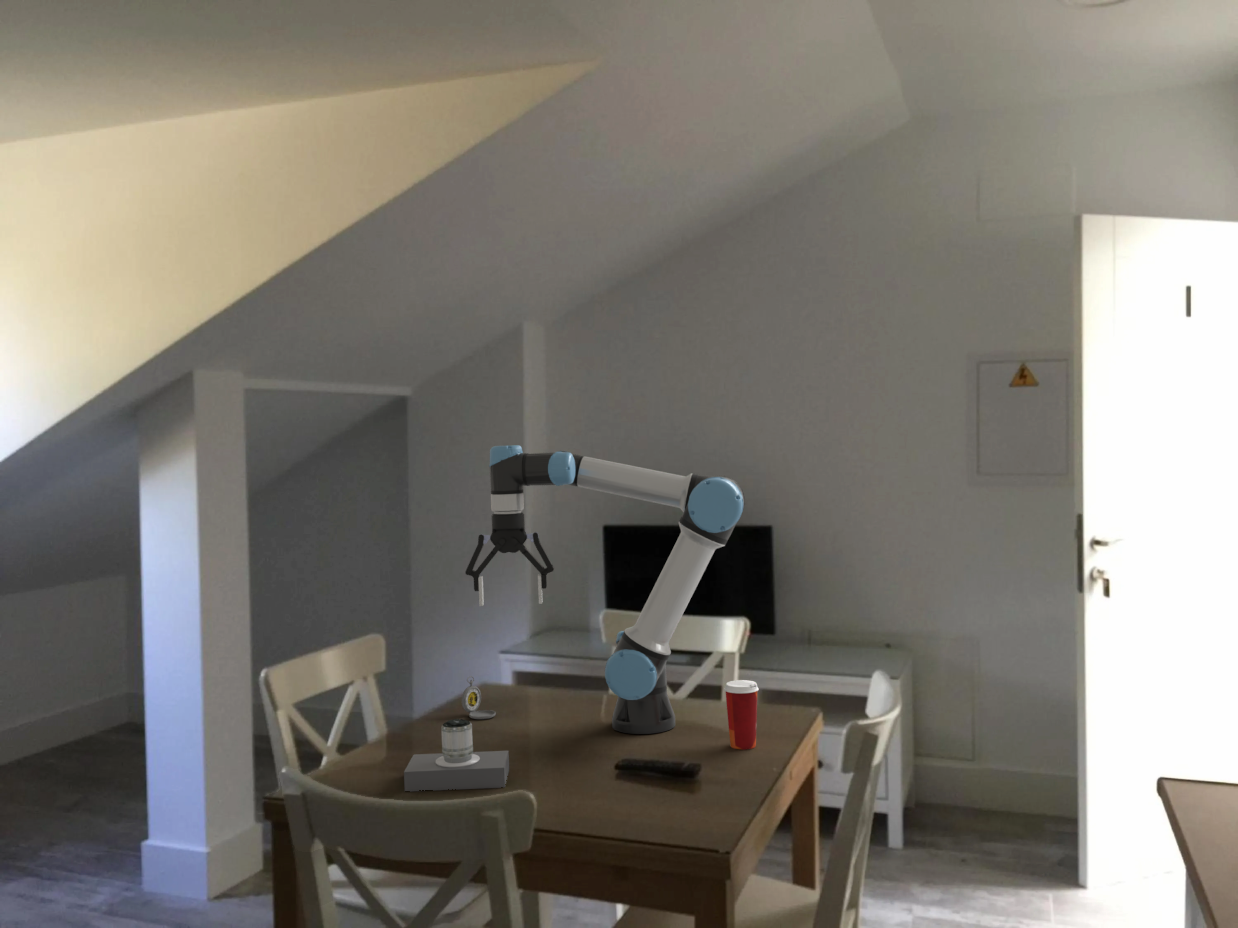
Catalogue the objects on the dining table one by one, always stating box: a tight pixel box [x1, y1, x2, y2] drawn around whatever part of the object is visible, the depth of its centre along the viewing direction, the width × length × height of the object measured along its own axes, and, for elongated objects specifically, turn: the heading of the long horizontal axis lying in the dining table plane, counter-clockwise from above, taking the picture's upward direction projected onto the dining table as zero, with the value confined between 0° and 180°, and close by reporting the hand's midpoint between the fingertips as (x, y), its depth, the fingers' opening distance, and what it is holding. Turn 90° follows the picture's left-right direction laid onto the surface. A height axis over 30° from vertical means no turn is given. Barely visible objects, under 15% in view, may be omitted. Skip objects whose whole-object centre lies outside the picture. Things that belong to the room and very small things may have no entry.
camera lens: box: [440, 718, 474, 763], centre depth 224 cm, size 6×6×8 cm
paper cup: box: [723, 679, 760, 751], centre depth 242 cm, size 8×8×14 cm
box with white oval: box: [403, 750, 510, 792], centre depth 224 cm, size 20×12×4 cm, turn 92°
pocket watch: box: [461, 675, 497, 720], centre depth 276 cm, size 8×8×10 cm
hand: (511, 604), depth 252 cm, fingers open, 13 cm apart
